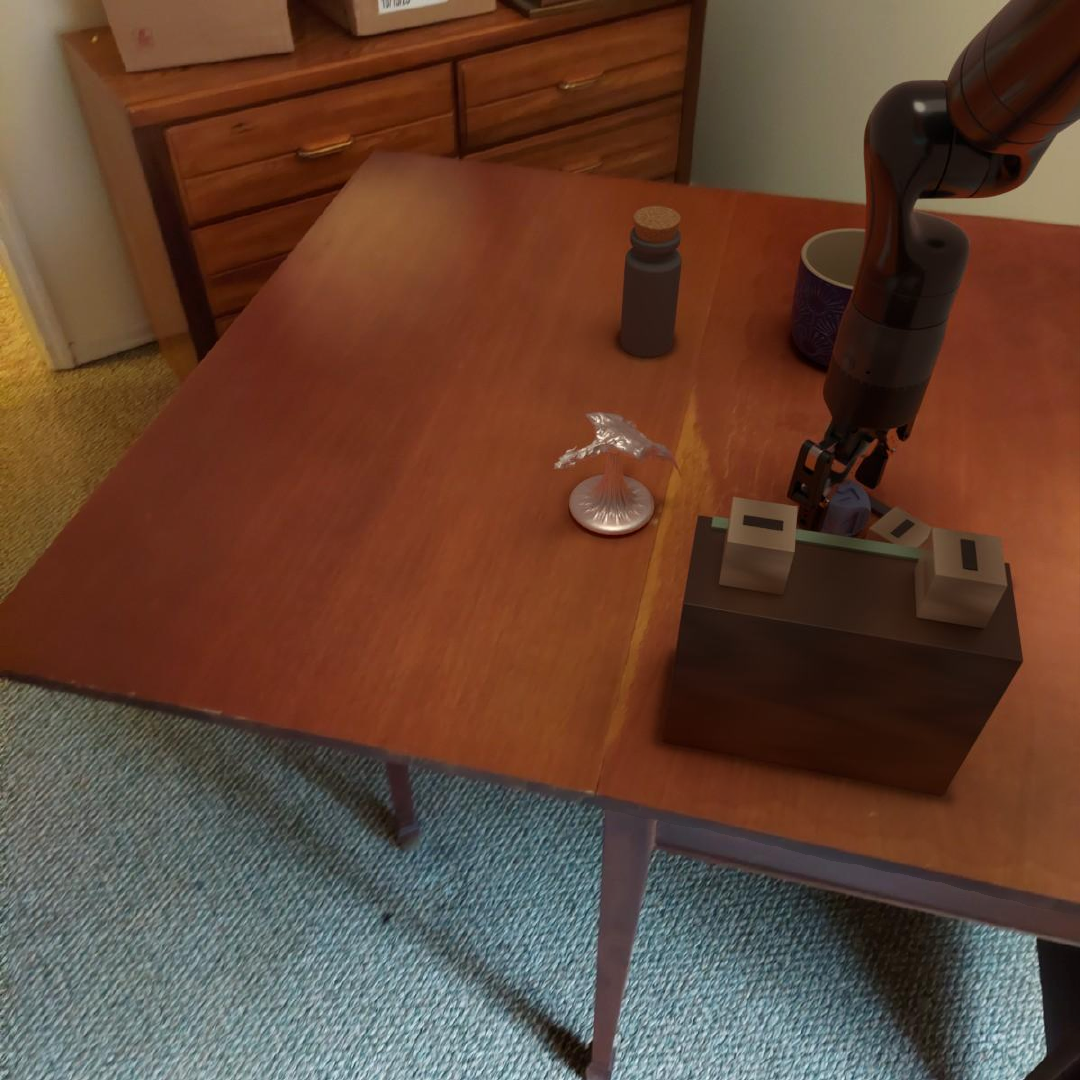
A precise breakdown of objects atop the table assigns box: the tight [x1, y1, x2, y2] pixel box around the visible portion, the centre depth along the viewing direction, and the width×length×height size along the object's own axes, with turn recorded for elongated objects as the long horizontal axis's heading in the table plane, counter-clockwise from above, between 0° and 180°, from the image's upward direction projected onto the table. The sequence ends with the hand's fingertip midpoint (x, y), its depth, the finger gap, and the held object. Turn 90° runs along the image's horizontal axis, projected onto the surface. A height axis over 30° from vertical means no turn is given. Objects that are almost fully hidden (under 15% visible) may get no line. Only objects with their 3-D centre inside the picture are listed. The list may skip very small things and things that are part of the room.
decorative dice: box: [819, 479, 872, 538], centre depth 85 cm, size 4×4×4 cm
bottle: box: [619, 205, 683, 359], centre depth 100 cm, size 6×6×15 cm
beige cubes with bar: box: [827, 478, 933, 548], centre depth 83 cm, size 18×7×4 cm, turn 42°
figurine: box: [553, 411, 683, 536], centre depth 84 cm, size 8×12×10 cm, turn 126°
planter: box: [790, 227, 865, 368], centre depth 101 cm, size 12×12×11 cm
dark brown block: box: [661, 496, 1024, 797], centre depth 64 cm, size 20×8×20 cm, turn 77°
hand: (837, 505), depth 85 cm, fingers open, 8 cm apart
